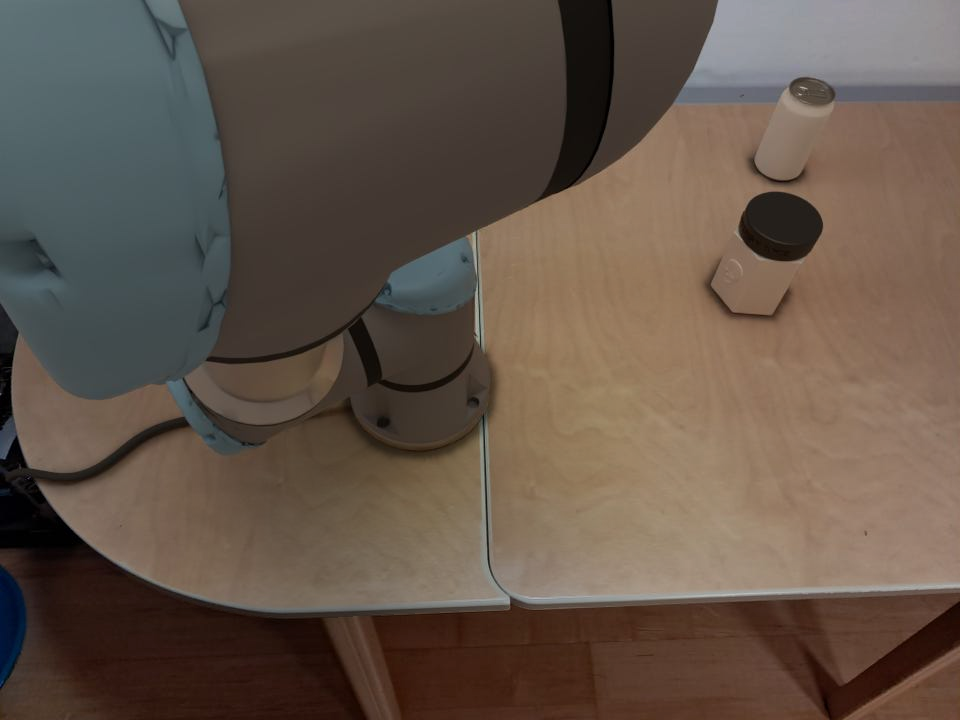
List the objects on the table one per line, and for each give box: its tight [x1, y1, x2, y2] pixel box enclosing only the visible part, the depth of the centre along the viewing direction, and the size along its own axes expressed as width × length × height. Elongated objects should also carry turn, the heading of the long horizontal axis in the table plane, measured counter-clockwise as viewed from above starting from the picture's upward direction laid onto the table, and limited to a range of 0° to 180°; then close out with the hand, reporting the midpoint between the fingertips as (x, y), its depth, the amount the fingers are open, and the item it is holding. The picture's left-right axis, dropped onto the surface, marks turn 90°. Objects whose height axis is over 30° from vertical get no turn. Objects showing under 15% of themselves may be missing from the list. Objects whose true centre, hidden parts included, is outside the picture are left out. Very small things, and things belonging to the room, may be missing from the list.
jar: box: [710, 191, 824, 316], centre depth 79 cm, size 9×8×12 cm
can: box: [754, 76, 837, 182], centre depth 92 cm, size 6×6×12 cm
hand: (125, 101), depth 66 cm, fingers closed on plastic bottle, 6 cm apart
